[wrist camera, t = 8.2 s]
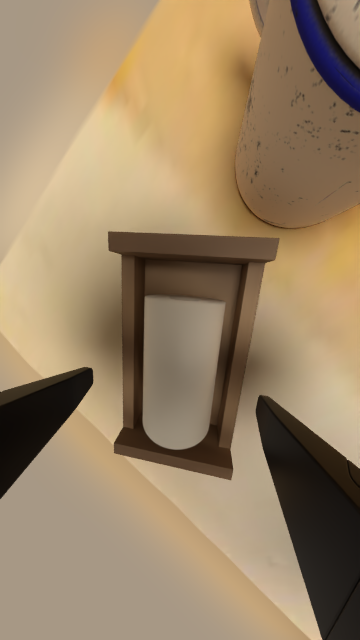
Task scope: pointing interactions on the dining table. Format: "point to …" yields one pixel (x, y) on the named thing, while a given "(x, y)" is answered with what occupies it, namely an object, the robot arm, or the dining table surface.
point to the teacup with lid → (302, 113)
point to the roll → (180, 367)
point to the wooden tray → (241, 303)
